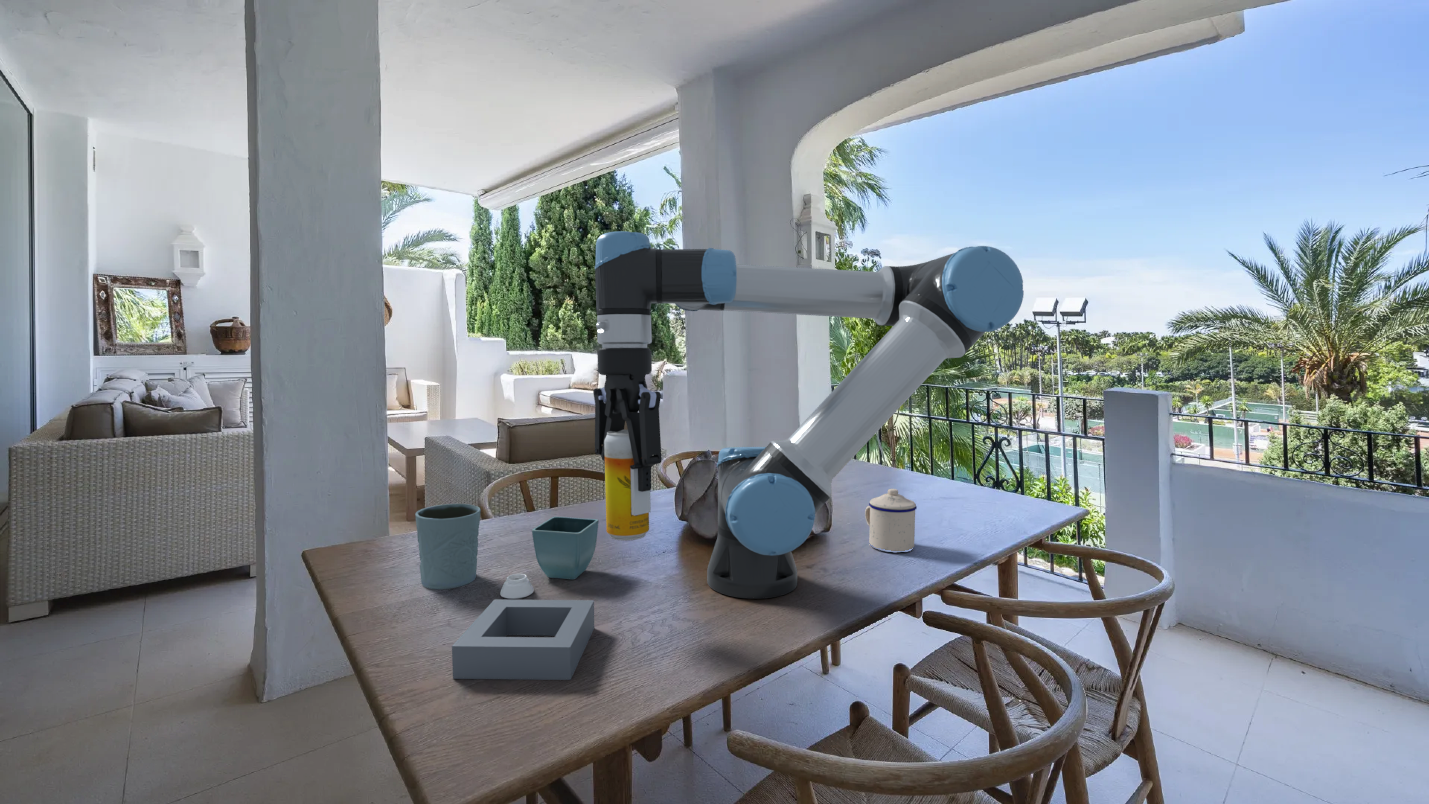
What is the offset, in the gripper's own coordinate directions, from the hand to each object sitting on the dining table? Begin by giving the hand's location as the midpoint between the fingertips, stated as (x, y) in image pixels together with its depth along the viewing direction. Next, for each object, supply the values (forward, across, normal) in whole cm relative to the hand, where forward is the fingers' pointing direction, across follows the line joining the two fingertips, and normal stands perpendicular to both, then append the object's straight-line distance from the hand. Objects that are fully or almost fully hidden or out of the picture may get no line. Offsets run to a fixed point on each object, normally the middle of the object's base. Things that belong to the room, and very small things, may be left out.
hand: (627, 508), depth 90 cm
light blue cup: (+16, -33, -14) cm, 39 cm away
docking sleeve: (+16, 0, -15) cm, 22 cm away
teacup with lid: (+17, +4, +59) cm, 61 cm away
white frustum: (+16, -20, -8) cm, 27 cm away
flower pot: (+16, -22, +2) cm, 28 cm away
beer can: (+4, 0, 0) cm, 4 cm away
